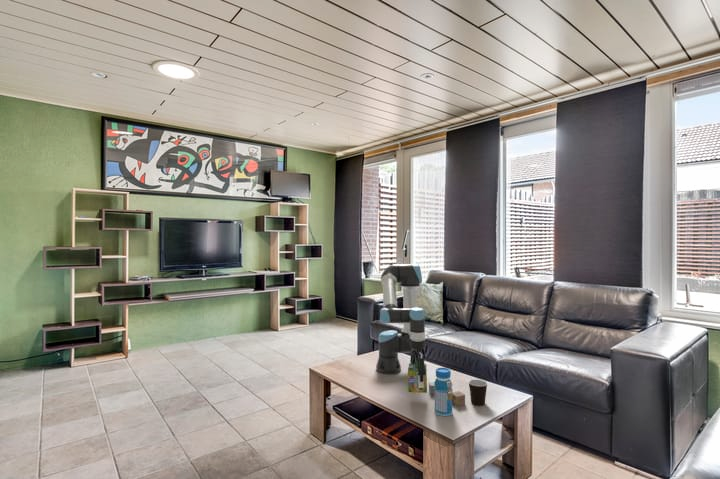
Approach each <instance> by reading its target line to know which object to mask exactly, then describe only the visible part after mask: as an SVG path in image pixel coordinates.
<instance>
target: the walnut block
mask: <svg viewBox="0 0 720 479" xmlns="http://www.w3.org/2000/svg"><path fill="white" fill-rule="evenodd" d="M465 405H466V394H464V393H463V392H461V391H459V390H457V391H453V392H452V406H455V407H456V408H457V407H461V406H465Z"/></svg>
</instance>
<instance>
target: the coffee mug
mask: <svg viewBox="0 0 720 479" xmlns="http://www.w3.org/2000/svg"><path fill="white" fill-rule="evenodd" d="M468 387H469V395H470V401H471V402H470V403H471V404H472V405H474V406H477V407H483V406H485V404H486V396H487V390H488V389H487V388H488V383H487V382H486V381H485V380H482V379H471V380H469V381H468Z"/></svg>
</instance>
